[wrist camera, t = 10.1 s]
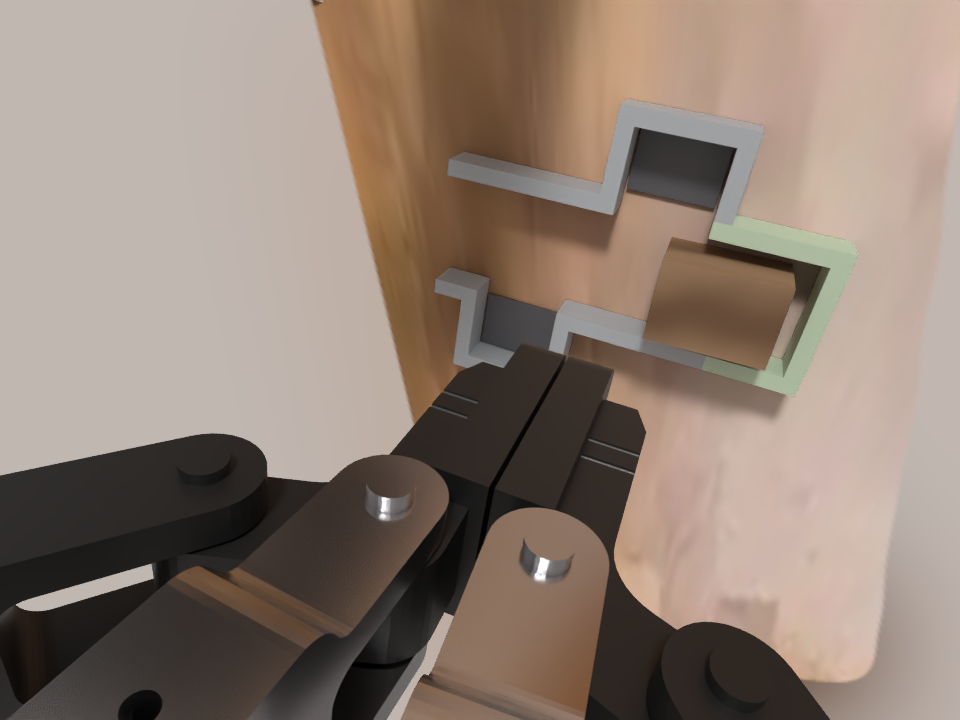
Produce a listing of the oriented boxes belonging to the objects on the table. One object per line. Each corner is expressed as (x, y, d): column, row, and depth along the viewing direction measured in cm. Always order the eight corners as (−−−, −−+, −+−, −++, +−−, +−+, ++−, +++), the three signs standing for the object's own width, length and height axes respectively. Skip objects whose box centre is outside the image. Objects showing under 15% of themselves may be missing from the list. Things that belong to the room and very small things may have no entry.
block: (672, 236, 41) (663, 259, 37) (792, 262, 39) (795, 289, 35) (652, 309, 43) (642, 338, 40) (765, 338, 42) (765, 370, 38)
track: (474, 68, 40) (458, 71, 38) (893, 151, 35) (901, 160, 33) (441, 341, 50) (427, 355, 48) (765, 441, 44) (765, 462, 42)
